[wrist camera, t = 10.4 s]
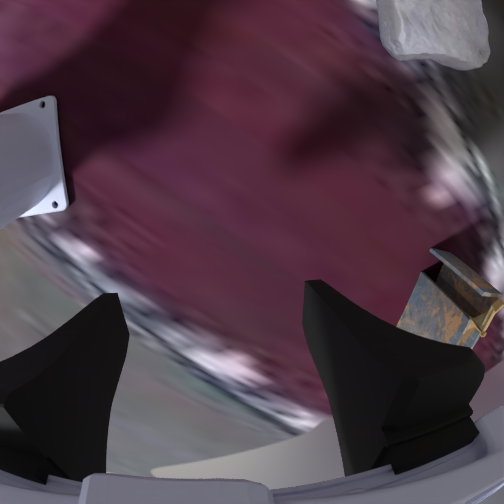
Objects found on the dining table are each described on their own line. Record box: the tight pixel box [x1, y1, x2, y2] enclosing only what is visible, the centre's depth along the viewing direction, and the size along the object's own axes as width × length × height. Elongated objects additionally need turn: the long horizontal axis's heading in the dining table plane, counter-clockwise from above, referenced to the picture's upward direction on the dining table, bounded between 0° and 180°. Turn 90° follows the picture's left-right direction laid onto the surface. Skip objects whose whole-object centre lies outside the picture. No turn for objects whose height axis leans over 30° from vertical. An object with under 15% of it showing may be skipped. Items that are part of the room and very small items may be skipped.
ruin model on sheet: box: [396, 248, 504, 349], centre depth 22 cm, size 11×3×10 cm, turn 169°
